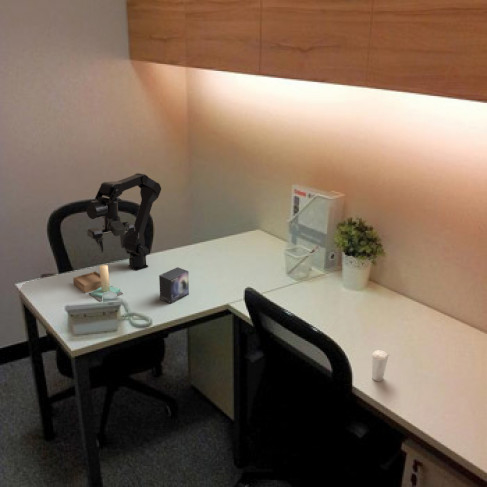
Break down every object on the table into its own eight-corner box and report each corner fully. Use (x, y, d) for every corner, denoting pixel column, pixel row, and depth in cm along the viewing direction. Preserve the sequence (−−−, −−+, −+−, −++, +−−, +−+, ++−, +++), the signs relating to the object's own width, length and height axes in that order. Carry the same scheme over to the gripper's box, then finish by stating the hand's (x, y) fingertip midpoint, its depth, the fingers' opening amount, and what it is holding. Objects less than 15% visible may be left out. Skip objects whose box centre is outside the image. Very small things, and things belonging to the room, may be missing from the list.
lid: (104, 287, 220) (102, 261, 216) (120, 291, 217) (118, 264, 213) (91, 295, 214) (88, 268, 209) (107, 299, 210) (105, 272, 206)
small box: (171, 304, 208) (170, 279, 204) (159, 299, 211) (157, 275, 208) (190, 294, 216) (189, 270, 212) (178, 290, 219) (177, 266, 215)
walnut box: (96, 278, 229) (95, 271, 228) (107, 286, 222) (107, 278, 221) (73, 285, 223) (72, 277, 222) (85, 293, 216) (84, 285, 215)
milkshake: (380, 386, 160) (383, 357, 157) (366, 377, 165) (369, 348, 161) (390, 380, 163) (394, 352, 159) (376, 372, 167) (380, 344, 163)
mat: (111, 286, 222) (111, 285, 222) (123, 294, 215) (123, 293, 215) (89, 293, 216) (89, 292, 215) (100, 301, 209) (100, 300, 209)
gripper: (98, 222, 208) (100, 260, 213) (141, 214, 219) (142, 251, 224) (85, 215, 216) (87, 252, 221) (127, 208, 227) (129, 244, 232)
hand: (112, 250), depth 224 cm, fingers open, 9 cm apart
